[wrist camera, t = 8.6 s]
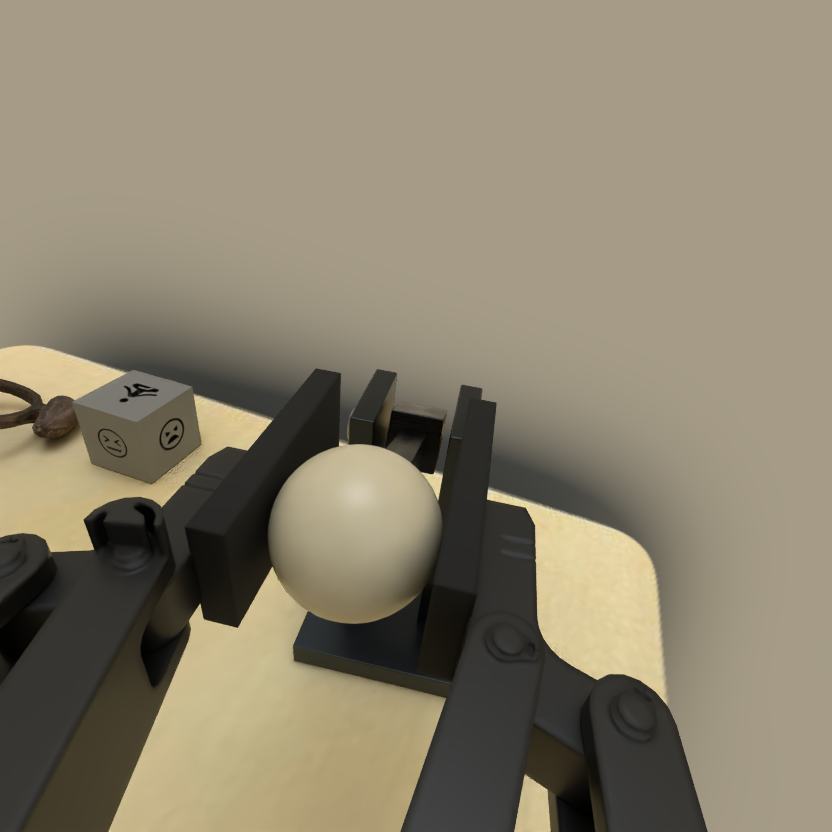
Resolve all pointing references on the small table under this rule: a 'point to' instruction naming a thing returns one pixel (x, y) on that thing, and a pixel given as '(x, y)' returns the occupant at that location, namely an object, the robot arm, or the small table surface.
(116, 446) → the dice cube
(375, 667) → the bracket
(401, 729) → the small table surface
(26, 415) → the brown antique clock
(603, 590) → the small table surface
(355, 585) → the lever
